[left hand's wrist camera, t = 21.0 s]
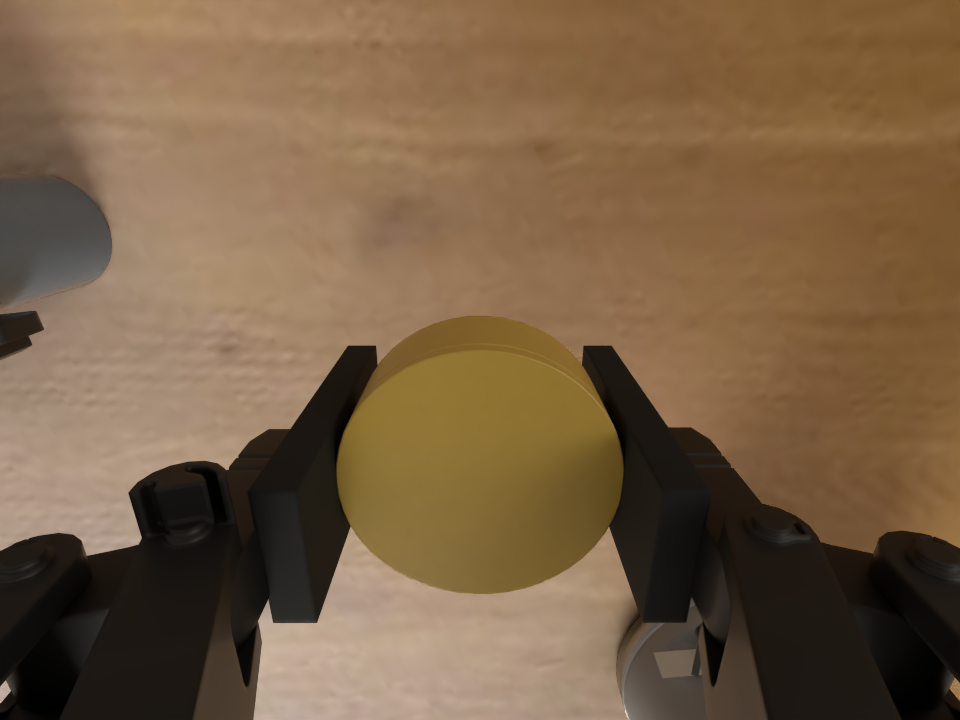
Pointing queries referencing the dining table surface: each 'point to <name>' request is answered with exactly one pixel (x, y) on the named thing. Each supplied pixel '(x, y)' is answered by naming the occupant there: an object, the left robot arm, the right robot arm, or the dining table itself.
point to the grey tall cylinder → (48, 238)
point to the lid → (480, 458)
